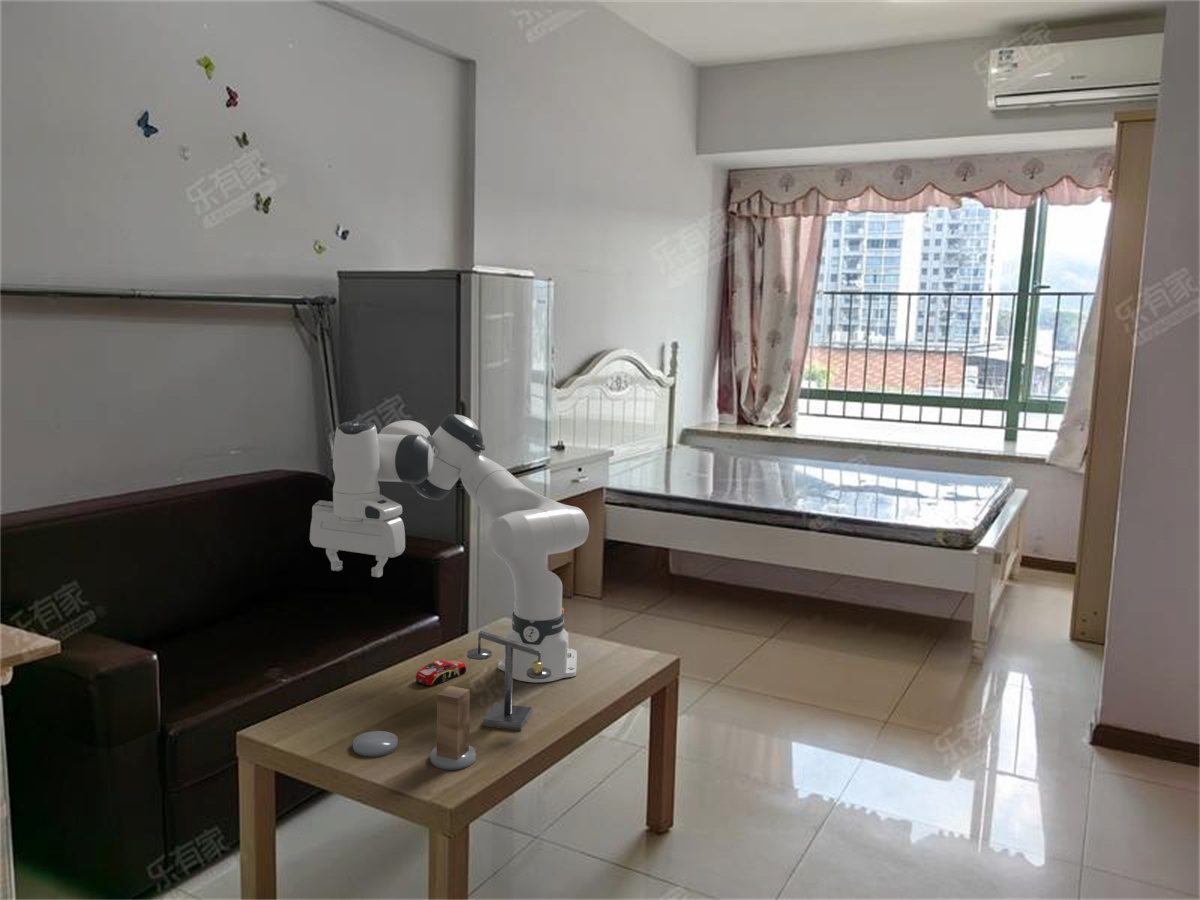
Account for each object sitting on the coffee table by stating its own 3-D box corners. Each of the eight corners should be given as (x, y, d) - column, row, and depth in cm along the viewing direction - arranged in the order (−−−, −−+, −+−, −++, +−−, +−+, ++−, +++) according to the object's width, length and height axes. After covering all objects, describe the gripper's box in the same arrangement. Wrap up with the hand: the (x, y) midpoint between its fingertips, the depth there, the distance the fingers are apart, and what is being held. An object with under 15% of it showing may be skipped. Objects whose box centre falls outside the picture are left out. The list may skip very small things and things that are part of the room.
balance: (472, 707, 199) (474, 624, 196) (554, 716, 196) (556, 632, 193) (460, 723, 191) (461, 636, 188) (544, 733, 188) (547, 645, 185)
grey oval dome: (364, 734, 184) (364, 728, 184) (404, 739, 183) (404, 733, 183) (345, 753, 176) (345, 747, 176) (387, 759, 175) (387, 753, 175)
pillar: (448, 745, 178) (449, 685, 177) (468, 750, 177) (469, 689, 175) (436, 755, 174) (437, 694, 173) (457, 760, 173) (458, 698, 171)
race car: (454, 667, 222) (455, 651, 221) (471, 673, 218) (471, 656, 218) (411, 683, 211) (411, 666, 211) (427, 689, 208) (428, 672, 207)
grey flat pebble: (439, 746, 181) (439, 740, 180) (481, 751, 179) (481, 745, 179) (423, 766, 172) (423, 760, 172) (467, 772, 171) (467, 766, 171)
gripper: (302, 502, 184) (303, 570, 186) (391, 512, 177) (391, 583, 179) (322, 496, 190) (323, 563, 192) (409, 507, 183) (409, 575, 185)
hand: (356, 573), depth 185 cm, fingers open, 8 cm apart
